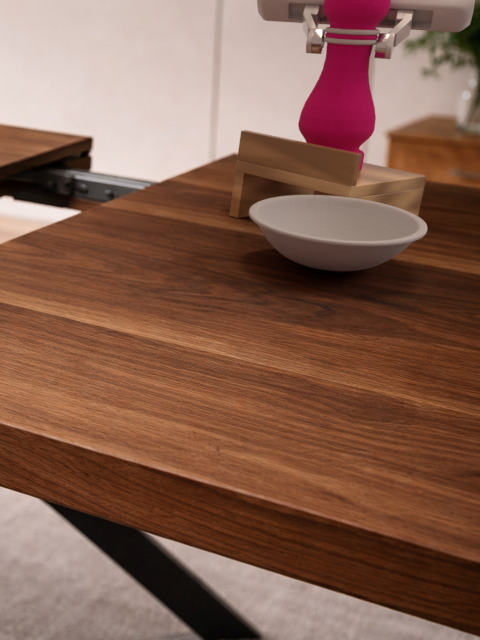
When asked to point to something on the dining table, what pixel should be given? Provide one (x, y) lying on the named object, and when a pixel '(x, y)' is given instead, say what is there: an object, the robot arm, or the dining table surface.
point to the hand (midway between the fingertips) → (347, 52)
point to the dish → (336, 230)
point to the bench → (315, 175)
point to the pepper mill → (345, 78)
